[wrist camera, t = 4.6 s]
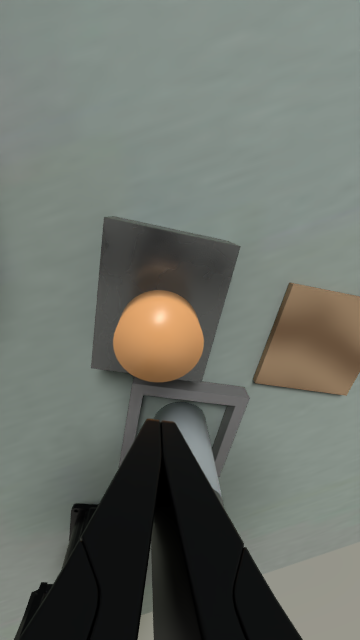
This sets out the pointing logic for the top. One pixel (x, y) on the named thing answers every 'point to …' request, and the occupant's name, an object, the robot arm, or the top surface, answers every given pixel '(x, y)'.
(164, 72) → the top surface
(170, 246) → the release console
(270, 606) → the robot arm
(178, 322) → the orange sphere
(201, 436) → the cylinder
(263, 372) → the walnut pad
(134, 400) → the collar
